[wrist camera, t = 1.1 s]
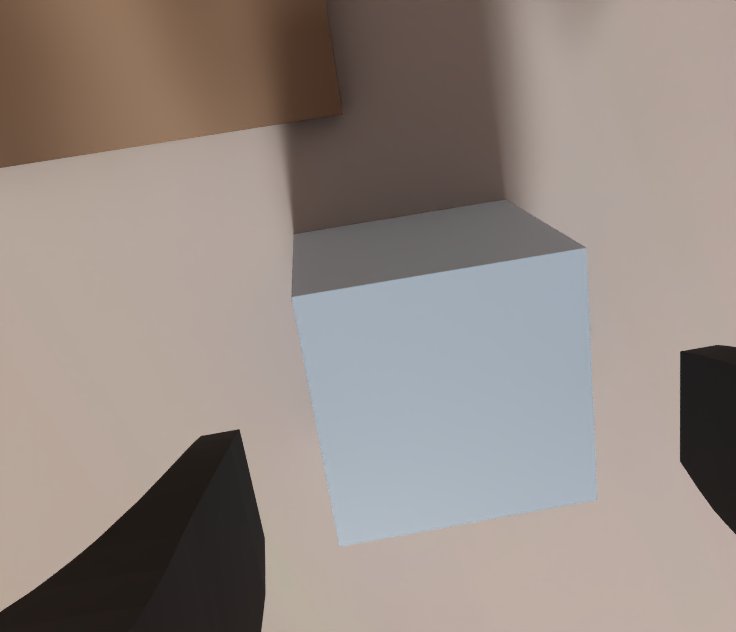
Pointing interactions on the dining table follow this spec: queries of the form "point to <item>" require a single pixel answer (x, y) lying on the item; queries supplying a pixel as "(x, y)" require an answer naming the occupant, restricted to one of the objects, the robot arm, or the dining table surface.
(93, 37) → the walnut board
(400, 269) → the blue cube
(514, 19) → the dining table surface
